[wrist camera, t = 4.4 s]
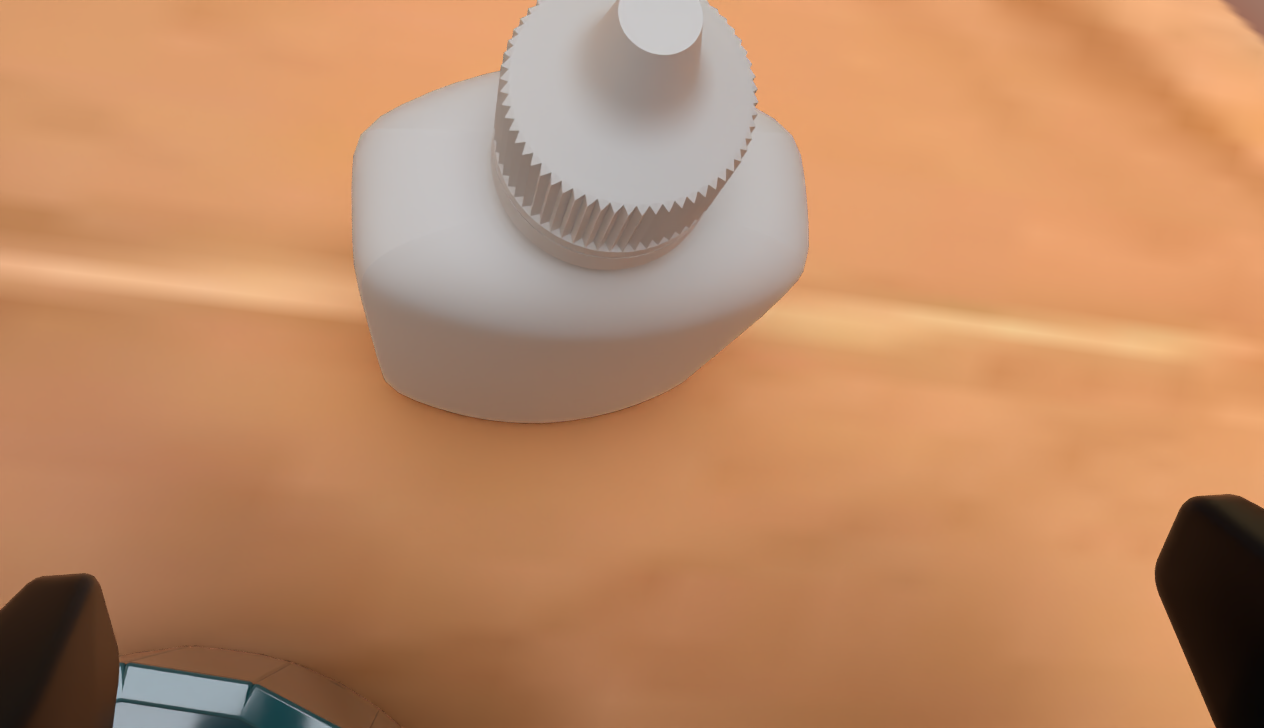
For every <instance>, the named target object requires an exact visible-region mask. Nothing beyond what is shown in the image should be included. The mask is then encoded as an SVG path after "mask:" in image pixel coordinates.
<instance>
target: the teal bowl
mask: <svg viewBox="0 0 1264 728" xmlns="http://www.w3.org/2000/svg"><path fill="white" fill-rule="evenodd" d="M113 728H402V727H401V726H400V725H399V724H398V723H396V722H395V721H394V720H393V719H392V718H390V717H389V716H388V715H387V714H386V713H385V712H384V711H383V710H381V709H379V708H378V707H377V706H376V705H375V704H373V703H372V702H370V701H369V700H367V699H366V698H364V697H362V696H361V695H359V694H357V693H356V692H354V691H353V690H351V689H349V688H348V687H346V686H345V685H343V684H341V683H340V682H338V681H335V680H333V679H331V678H329V677H326V676H324V675H322V674H320V673H317V672H315V671H313V670H311V669H308V668H306V667H304V666H301V665H298V664H296V663H291V662H290V661H287V660H281V659H277V658H274V657H270V656H267V655H263V654H256V653H250V652H243V651H236V650H229V649H223V648H207V647H200V646H180V647H174V648H167V649H160V650H153V651H146V652H137V653H132V654H127V655H120V656H119V682H118V690H117V698H116V706H115V714H114V722H113Z"/></svg>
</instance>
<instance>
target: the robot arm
mask: <svg viewBox="0 0 1264 728" xmlns="http://www.w3.org/2000/svg"><path fill="white" fill-rule="evenodd" d="M1155 582H1156V586H1157V590H1158V593H1159V596H1160V598H1161V600H1162V603H1163V605H1164V607H1165V610H1166V612H1167V614H1168V617H1169V619H1170V621H1171V624H1172V626H1173V629H1174V631H1175V633H1176V636H1177V638H1178V640H1179V643H1180V645H1181V647H1182V650H1183V652H1184V654H1185V657H1186V659H1187V661H1188V664H1189V666H1190V668H1191V671H1192V673H1193V675H1194V678H1195V680H1196V682H1197V685H1198V687H1199V690H1200V692H1201V694H1202V697H1203V699H1204V701H1205V704H1206V706H1207V708H1208V711H1209V713H1210V715H1211V718H1212V720H1213V722H1214V724H1215V726H1216V728H1264V509H1263V508H1261V507H1259V506H1257V505H1256V504H1254V503H1252V502H1250V501H1248V500H1246V499H1244V498H1242V497H1240V496H1237V495H1231V494H1223V495H1208V496H1196V497H1193V498H1190V499H1189V500H1187V501H1186V502H1185V503H1184V504H1183V505H1182V507H1181V508H1180V510H1179V512H1178V514H1177V517H1176V519H1175V521H1174V523H1173V526H1172V528H1171V530H1170V532H1169V535H1168V537H1167V539H1166V541H1165V543H1164V546H1163V548H1162V550H1161V552H1160V555H1159V557H1158V559H1157V562H1156V567H1155ZM118 682H119V653H118V647H117V643H116V639H115V636H114V632H113V628H112V625H111V621H110V618H109V614H108V611H107V607H106V603H105V600H104V596H103V593H102V589H101V586H100V584H99V582H98V581H97V579H96V578H95V577H94V576H92V575H90V574H85V573H82V574H68V575H54V576H42V577H39V578H36V579H34V580H32V581H31V582H29V583H28V584H27V585H26V586H24V587H23V588H22V589H21V590H20V591H19V592H18V593H17V594H16V595H15V596H14V597H13V598H12V599H11V600H10V601H9V602H8V603H7V604H6V605H5V606H4V607H3V608H2V609H1V610H0V728H113V722H114V714H115V706H116V698H117V690H118Z"/></svg>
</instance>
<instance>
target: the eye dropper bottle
mask: <svg viewBox="0 0 1264 728" xmlns="http://www.w3.org/2000/svg"><path fill="white" fill-rule="evenodd" d="M734 33H735V29H734V28H732V27H731V26H730V25H728V24H727V19H726V18H724V17H723V16H721V15H719V13H718V9H716V8H714V7H712V6H710V5H709V3H708V1H707V0H537V4H536V6H534V7H532V8H529V9H528V13H527V16H525V17H523V18H521V19H520V24H519V27H517V28H515V29H513V36H512V39H510V40H509V41H508V44H507V51H506V52H504V55H503V63H502V65H501V70H500V71H497V72H492V73H488V74H484V75H480V76H477V77H474V78H470V79H467V80H463V81H460V82H456V83H453V84H451V85H448V86H445V87H443V88H440V89H437V90H434V91H432V92H429V93H427V94H425V95H423V96H420V97H418V98H416V99H414V100H411V101H409V102H407V103H404V104H402V105H400V106H399V107H397V108H395V109H393V110H391V111H389V112H387V113H386V114H384V115H382V116H380V117H379V118H378V119H377V120H376V121H375V122H374V123H373V124H372V125H371V126H370V127H369V128H368V129H366V130H365V131H364V132H363V133H362V134H361V136H360V138H359V141H358V144H357V147H356V150H355V153H354V156H353V168H352V243H353V258H354V267H355V273H356V278H357V283H358V288H359V292H360V296H361V300H362V304H363V307H364V311H365V315H366V319H367V323H368V326H369V330H370V334H371V337H372V341H373V344H374V348H375V352H376V355H377V359H378V362H379V365H380V368H381V371H382V374H383V377H384V379H385V381H386V382H387V383H388V384H389V385H390V386H392V387H393V388H394V389H395V390H396V391H397V392H399V393H400V394H403V395H405V396H407V397H409V398H411V399H413V400H416V401H418V402H421V403H424V404H427V405H429V406H432V407H435V408H439V409H442V410H445V411H449V412H452V413H456V414H461V415H465V416H469V417H474V418H480V419H486V420H493V421H502V422H514V423H550V422H563V421H571V420H578V419H584V418H589V417H595V416H599V415H603V414H607V413H611V412H615V411H618V410H621V409H624V408H628V407H631V406H633V405H636V404H639V403H641V402H644V401H647V400H649V399H651V398H654V397H656V396H658V395H660V394H663V393H665V392H667V391H669V390H670V389H672V388H674V387H676V386H677V385H679V384H681V383H682V382H684V381H685V380H686V379H687V378H689V377H690V376H691V375H692V374H693V373H695V372H696V371H697V370H698V369H700V368H701V367H702V366H703V365H704V364H706V363H707V362H708V361H709V360H711V359H712V358H713V357H714V356H715V355H717V354H718V353H719V352H720V351H721V350H723V349H724V348H725V347H726V346H727V345H729V344H730V343H731V342H732V341H733V340H735V339H736V338H737V337H738V336H739V335H740V334H742V333H743V332H744V331H745V330H746V329H748V328H749V327H750V326H751V325H752V324H753V323H755V322H756V321H757V320H758V319H759V318H761V317H762V316H763V315H764V314H765V313H766V312H767V311H768V310H769V309H770V308H771V307H772V306H773V305H775V304H776V303H777V302H778V301H779V300H780V299H781V298H782V297H783V296H784V295H785V294H786V293H787V292H788V291H789V289H790V288H791V287H792V286H793V285H794V284H795V283H796V282H797V281H798V279H799V278H800V276H801V274H802V273H803V270H804V266H805V262H806V258H807V254H808V247H809V229H808V209H807V197H806V187H805V177H804V171H803V165H802V159H801V154H800V152H799V150H798V147H797V145H796V143H795V141H794V138H793V136H792V135H791V134H790V133H789V132H788V131H787V130H786V129H785V128H784V127H783V126H781V125H780V124H779V123H778V122H777V121H776V120H775V119H774V118H772V117H770V116H769V115H767V114H765V113H764V112H762V111H760V110H758V109H757V108H755V106H756V105H757V103H758V100H757V98H756V96H755V93H756V91H757V87H756V86H755V84H754V82H753V80H754V78H755V77H756V76H755V75H754V74H753V72H752V71H751V69H750V67H751V65H752V63H751V62H750V61H749V60H748V58H747V57H746V54H747V51H746V50H745V49H744V48H743V47H742V46H741V41H742V40H741V39H740V38H738V37H737V36H736V35H735V34H734Z"/></svg>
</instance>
